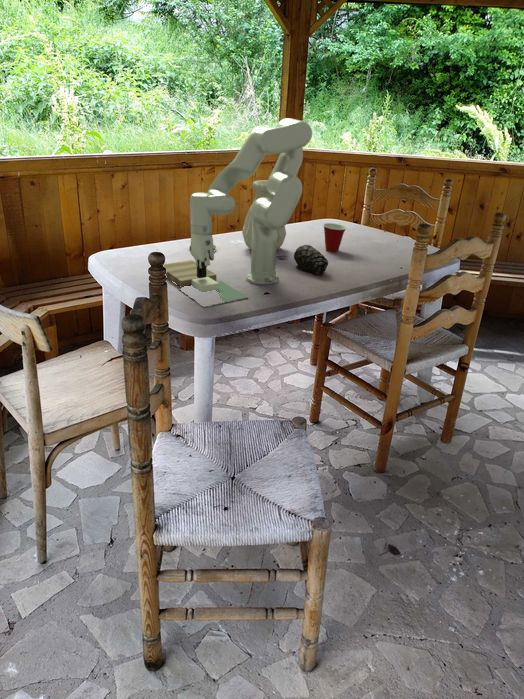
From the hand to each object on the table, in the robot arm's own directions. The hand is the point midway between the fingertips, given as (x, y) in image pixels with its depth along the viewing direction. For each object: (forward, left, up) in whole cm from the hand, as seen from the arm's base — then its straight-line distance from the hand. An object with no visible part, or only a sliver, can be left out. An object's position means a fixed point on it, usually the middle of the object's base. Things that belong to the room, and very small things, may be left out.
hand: (201, 277), depth 206 cm
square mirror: (-9, 0, -4) cm, 9 cm away
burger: (+41, -23, -4) cm, 47 cm away
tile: (-2, 0, -3) cm, 4 cm away
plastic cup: (+13, -76, -4) cm, 77 cm away
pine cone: (-4, -50, -4) cm, 50 cm away
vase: (+29, -48, -4) cm, 56 cm away
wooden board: (+12, 0, -4) cm, 13 cm away
